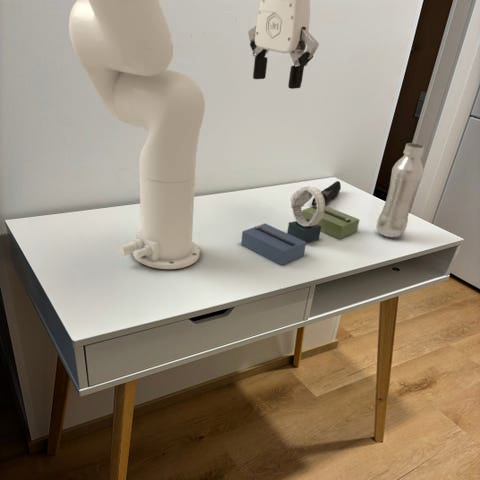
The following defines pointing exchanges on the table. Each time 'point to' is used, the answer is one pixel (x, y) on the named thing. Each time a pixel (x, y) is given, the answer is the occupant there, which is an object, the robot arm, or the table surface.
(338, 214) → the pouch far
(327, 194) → the electric trimmer
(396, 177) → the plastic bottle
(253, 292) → the table surface
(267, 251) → the blue slotted block
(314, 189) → the watch
